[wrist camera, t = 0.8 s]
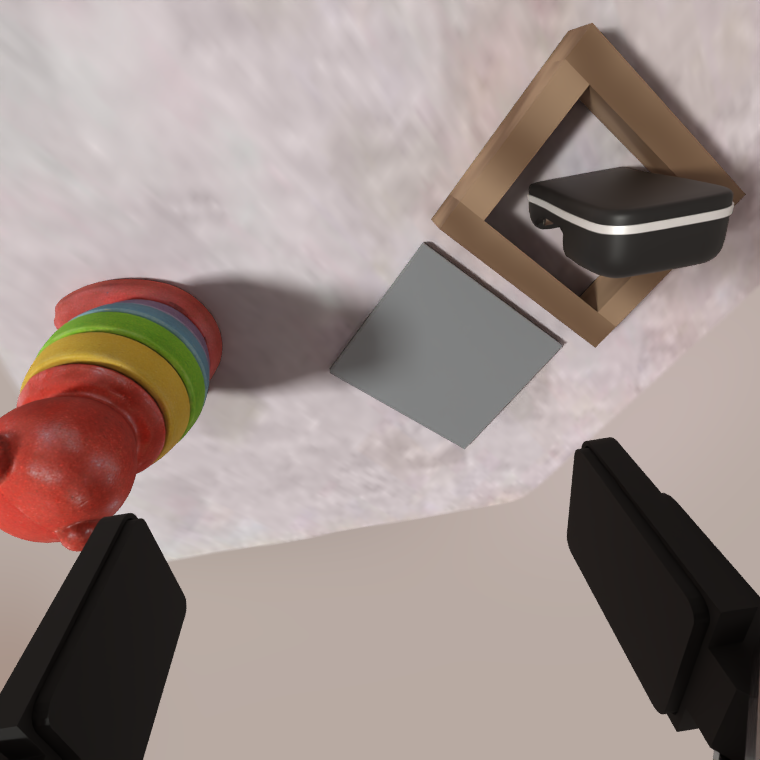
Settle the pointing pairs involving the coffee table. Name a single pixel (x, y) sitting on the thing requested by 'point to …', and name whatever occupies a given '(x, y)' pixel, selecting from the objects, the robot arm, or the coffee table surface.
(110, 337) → the stacking bear
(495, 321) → the mat
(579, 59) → the frame
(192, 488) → the coffee table surface
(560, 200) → the battery charger
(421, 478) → the coffee table surface
